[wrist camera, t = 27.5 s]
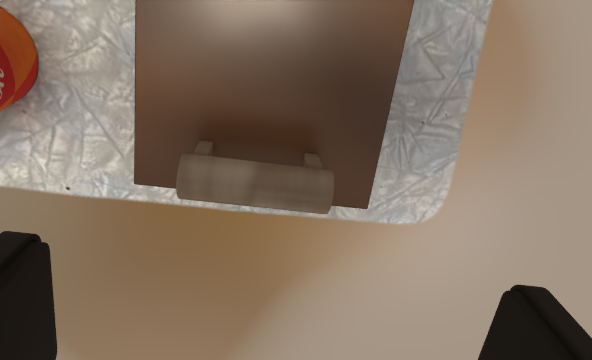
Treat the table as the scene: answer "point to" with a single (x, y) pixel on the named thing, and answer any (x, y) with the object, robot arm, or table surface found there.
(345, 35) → the lid
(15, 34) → the coffee cup
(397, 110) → the table surface
